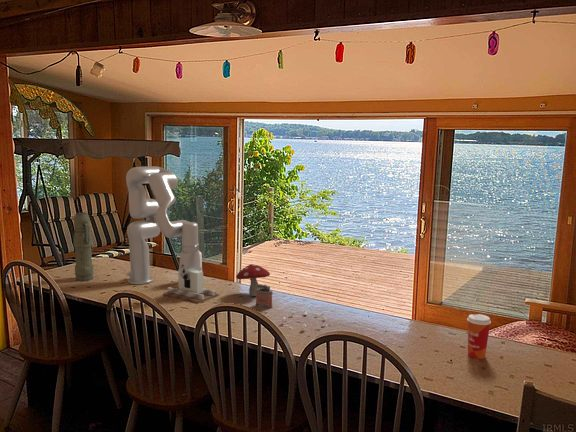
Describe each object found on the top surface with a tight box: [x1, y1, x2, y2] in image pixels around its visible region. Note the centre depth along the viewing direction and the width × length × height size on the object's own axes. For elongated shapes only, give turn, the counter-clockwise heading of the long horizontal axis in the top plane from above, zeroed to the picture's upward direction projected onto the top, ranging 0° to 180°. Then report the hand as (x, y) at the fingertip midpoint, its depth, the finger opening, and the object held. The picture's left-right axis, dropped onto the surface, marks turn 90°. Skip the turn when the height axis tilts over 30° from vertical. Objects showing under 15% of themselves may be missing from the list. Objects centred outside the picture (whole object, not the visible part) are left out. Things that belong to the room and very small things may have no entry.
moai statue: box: [72, 212, 94, 282], centre depth 261 cm, size 9×12×35 cm
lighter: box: [255, 283, 273, 309], centre depth 222 cm, size 8×3×10 cm, turn 65°
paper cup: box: [466, 313, 492, 360], centre depth 172 cm, size 8×8×14 cm
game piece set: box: [280, 309, 329, 332], centre depth 203 cm, size 19×20×4 cm
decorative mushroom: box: [235, 263, 271, 297], centre depth 238 cm, size 16×16×15 cm
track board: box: [163, 286, 219, 304], centre depth 237 cm, size 22×14×3 cm, turn 58°
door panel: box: [177, 269, 204, 294], centre depth 236 cm, size 12×4×10 cm, turn 58°
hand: (190, 286), depth 237 cm, fingers closed on door panel, 3 cm apart
